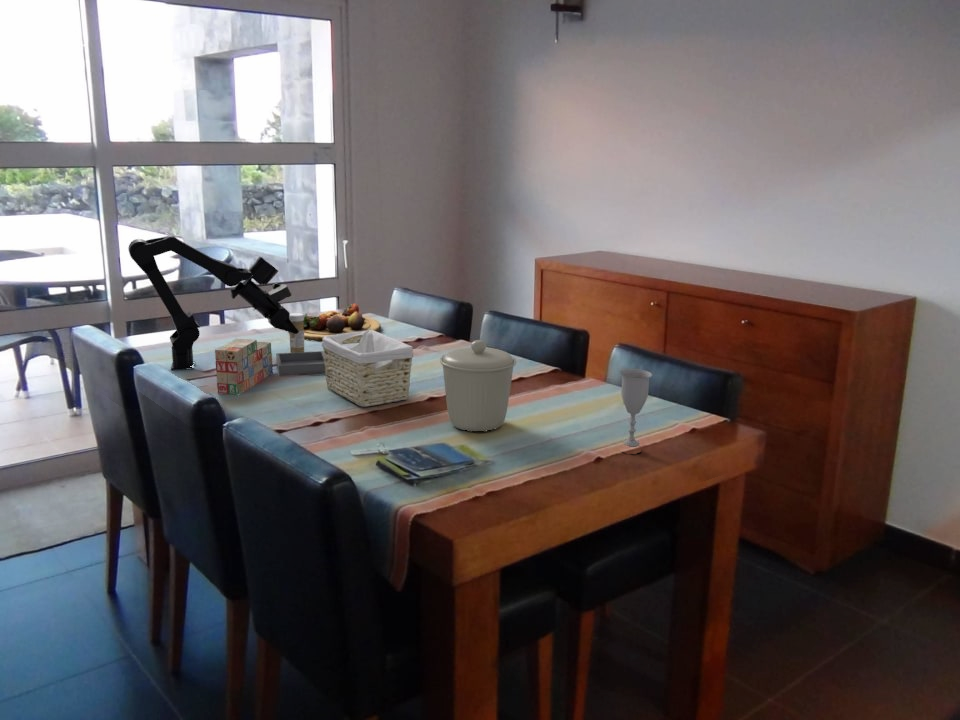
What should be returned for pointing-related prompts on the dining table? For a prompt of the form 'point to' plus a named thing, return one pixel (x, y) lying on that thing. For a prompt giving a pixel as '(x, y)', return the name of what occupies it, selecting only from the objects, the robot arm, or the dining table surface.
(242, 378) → the stack of blocks
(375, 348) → the storage basket
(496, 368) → the canister
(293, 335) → the sprinkles bottle
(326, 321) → the wooden plate with food
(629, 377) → the chalice
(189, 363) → the robot arm
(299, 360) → the box
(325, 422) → the dining table surface
